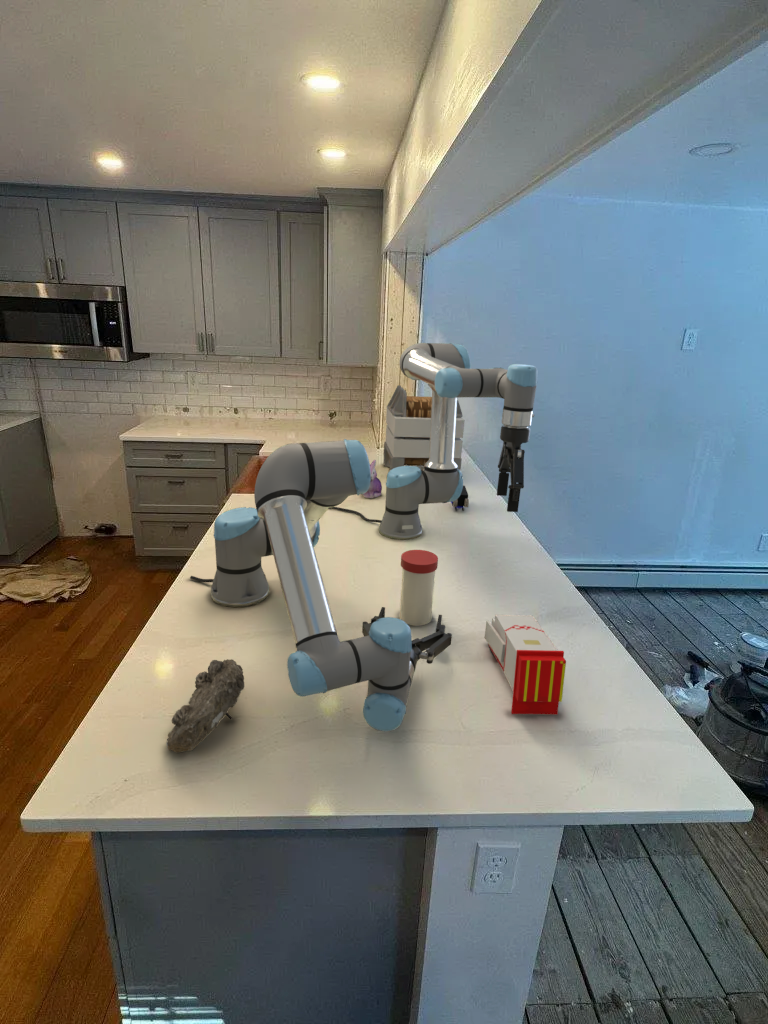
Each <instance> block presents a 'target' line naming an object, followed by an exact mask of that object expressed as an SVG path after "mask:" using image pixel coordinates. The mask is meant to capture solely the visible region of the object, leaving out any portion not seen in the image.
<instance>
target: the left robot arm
mask: <svg viewBox="0 0 768 1024" xmlns="http://www.w3.org/2000/svg"><path fill="white" fill-rule="evenodd" d="M370 465H371V463H370V460H369V455H368V452H367V449H366V447H365V446H364V444H362V442H361V441H360V440H357V439H346V438H344V439H343V440H329V441H310V442H292V443H285V444H284V445H281V446H279V447H278V448H276V449H275V450H273V451H272V452H271V453H270V454H269V455H268V456H267V458H266V459H264V461H263V463H262V465H261V467H260V468H259V471H258V473H257V477H256V480H255V485H254V493H253V494H254V495H253V496H254V504H255V507H246V506H242V507H236V508H232V509H229V510H226V511H224V512H222V513H220V514H219V515H218V516H217V517H216V519H214V525H213V526H214V527H213V538H214V547H215V549H214V550H215V561H216V562H215V564H216V570H215V573H214V577H213V578H200V577H197V576H194V575H190V577H189V579H190V580H192V581H196V582H198V583H212V584H211V587H210V598H211V599H212V601H213V602H214V603H216V604H217V605H220V606H223V607H228V608H244V607H249V606H254V605H256V604H259V603H261V602H262V601H264V600H265V599H267V597H269V594H270V585H269V582H268V579H267V577H266V573H265V572H264V569H263V566H262V558H264V557H270V556H273V560H274V563H275V568H276V572H277V575H278V580H279V583H280V588H281V592H282V596H283V599H284V603H285V608H286V612H287V615H288V620H289V623H290V628H291V631H292V636H293V640H294V645H295V648H296V651H295V652H292V653H290V654H289V655H288V657H287V662H286V666H287V672H288V673H287V675H288V680H289V683H290V686H291V688H292V690H293V692H294V693H295V695H296V696H299V697H308V696H312V695H317V694H326V693H327V692H330V691H333V690H337V689H341V688H345V687H348V686H351V685H356V684H360V683H363V682H367V693H366V697H365V699H364V701H363V703H364V705H363V708H362V715H363V718H364V720H365V722H366V723H367V724H368V725H369V726H370V727H371V728H373V729H375V730H377V731H380V732H391V731H395V730H397V728H399V727H400V726H401V725H402V723H403V720H404V717H405V715H406V714H407V706H408V700H409V696H410V691H411V687H412V683H413V679H414V676H415V672H416V668H417V665H418V661H419V660H420V659H422V660H426V663H427V664H433V662H434V659H436V657H438V656H439V655H441V654H442V653H443V652H444V651H445V650H446V649H448V648H449V647H451V645H452V640H453V639H452V638H453V634H452V633H451V632H447V633H446V625H445V624H442V619H443V615H442V614H438V616H437V621H436V627H435V632H433V633H430V634H427V635H426V636H423V637H421V638H419V637H417V638H415V639H412V637H413V636H412V629H411V627H410V625H409V624H406V623H405V622H404V621H402V620H401V619H400V618H397V617H391V616H385V615H386V614H385V613H386V607H385V606H381V608H380V611H379V614H378V615H374V616H373V617H372V618H371V619H370V622H368V621H362V626H361V627H362V629H361V630H362V631H361V633H362V635H363V636H360V637H355V638H352V639H348V640H343V641H340V638H339V635H338V630H337V627H336V623H335V618H334V616H333V612H332V608H331V605H330V602H329V598H328V594H327V591H326V587H325V583H324V580H323V575H322V572H321V569H320V565H319V562H318V558H317V554H316V551H315V547H316V546H317V545H318V542H319V539H320V534H321V526H320V519H321V518H322V517H323V516H324V515H325V514H326V512H327V511H328V510H329V509H330V508H329V507H338V506H340V504H342V503H344V502H345V501H346V500H347V498H348V497H350V496H360V495H362V494H364V493H366V492H367V491H368V489H369V487H370V481H371V472H370Z"/></svg>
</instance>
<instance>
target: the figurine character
mask: <svg viewBox="0 0 768 1024" xmlns="http://www.w3.org/2000/svg"><path fill="white" fill-rule="evenodd" d="M450 504H451V506H452V507H453V508H454V511H456V512H457V511H458V509H461V511H462V512H464V511H465V508H469V505H470V500H469V492H468V490H467V488H466V485H463V489H462V492H461V495H460V496H459V498H458V499H457V500H456V501H453V502H450Z"/></svg>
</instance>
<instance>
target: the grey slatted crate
mask: <svg viewBox="0 0 768 1024" xmlns="http://www.w3.org/2000/svg"><path fill="white" fill-rule="evenodd" d="M407 394H408V393H407V390H406V389H404V388H403V387H402V385H399V384H398V385H397V386H396V388H395V390H394V392H393V394H392V395H391V398H390V400H389V402H388V404H387V405H386V413H385V414H386V415H385V423H386V428H385V438H384V442H383V466H384V467H388V468H389V471H390V470H392V469H393V468H396V467H400V466H416V467H424V464H425V463H426V462H427V461H428V460H429V449H430V428H431V406H432V396H415V395H414V396H413V395H412V396H411V395H407ZM464 429H465V419H464V418H463V411H462V408H461V405H460V402H459V397H457V412H456V429H455V446H454V462H455V463H456V464H457V465H458V470H460V471H461V472H462V461H463V460H462V453H463V442H464V441H463V440H462V439H463V438H464V431H465V430H464Z"/></svg>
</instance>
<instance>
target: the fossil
mask: <svg viewBox="0 0 768 1024" xmlns="http://www.w3.org/2000/svg"><path fill="white" fill-rule="evenodd" d="M243 670H244V669H243V667H242V665H240V664H237V662H236V661H235V660H234V659H232V658H231V659H227V658H226V659H224V660H223V661H222V660H217V659H212V660H211V661H210V663H209V665H208V666H207V671H201V672H199V673H198V674H197V675H196V676H195V680H194V684H195V685H194V687H195V689H194V690H193V693H192V694H191V697H190V698H189V700H188V704H184V705H182V706H181V707H180V709H177V710H176V711H175V713H174V715H173V716H172V718H171V723H172V724H173V727H172V730H171V731H170V732H168V734H167V738H166V741H167V742H166V745H167V749H168V750H169V751H173V752H174V753H176V754H178V753H182V752H188V751H189V752H192V751H193V750H195V748H196V747H197V746H199V744H200V743H201V742H203V741H204V740H205V739H206V738H207V737H208V736H209V735H210V734H211V733H212V732H214V730H215V729H217V727H218V726H219V724H220V722H221V721H222V720H223V719H224V718H225V716H226V717H227V719H229V720H233V717H232V715H230V714H229V710H230V709H231V708H234V706H235V704H236V703H237V702H238V699H239V697H240V695H241V693H242V691H243V690H245V689H244V688H245V675H244V671H243Z"/></svg>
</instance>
